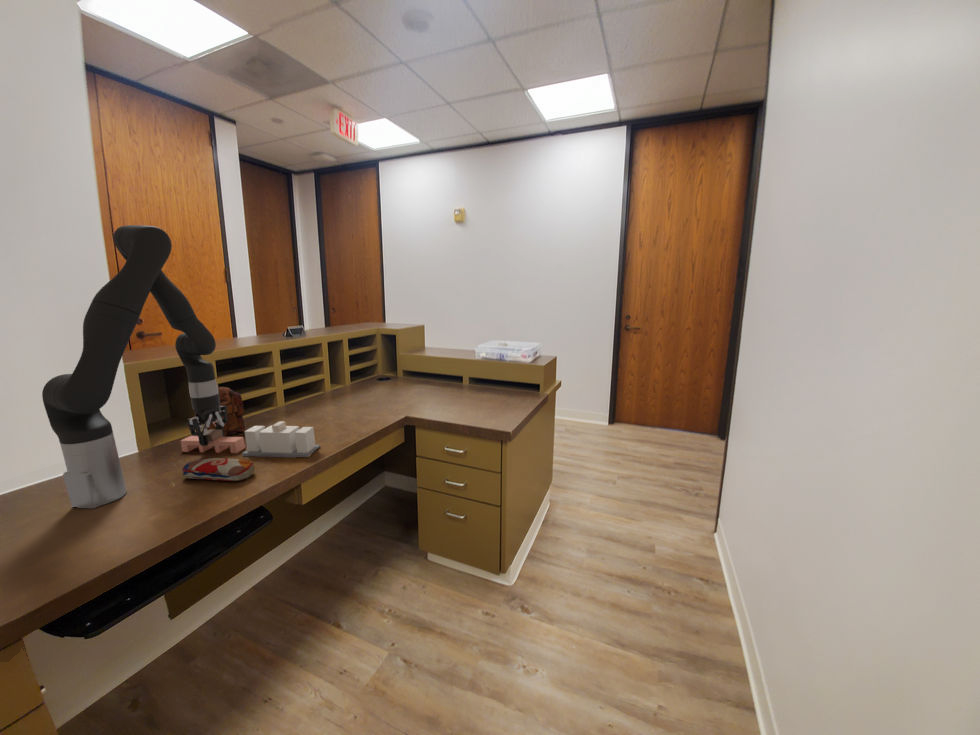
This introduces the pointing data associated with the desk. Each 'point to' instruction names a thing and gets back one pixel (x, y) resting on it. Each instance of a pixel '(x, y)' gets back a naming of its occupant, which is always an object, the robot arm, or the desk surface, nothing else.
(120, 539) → the desk surface
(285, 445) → the white block cluster
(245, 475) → the pencil case
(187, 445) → the pink arch block
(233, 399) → the wooden figurine
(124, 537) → the desk surface
